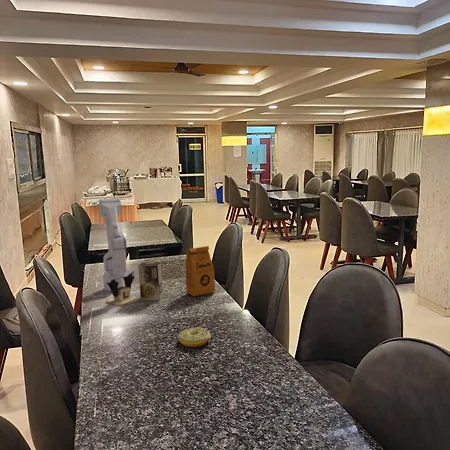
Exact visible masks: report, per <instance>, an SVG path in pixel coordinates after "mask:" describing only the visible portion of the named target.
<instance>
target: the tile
mask: <svg viewBox="0 0 450 450" xmlns="http://www.w3.org/2000/svg"><path fill="white" fill-rule="evenodd" d="M135 302H139V298H138V297H135V296H131V295H130V299H128V300H125V301H123V302H120V301H116V300H114V296H112V297H111V298H107V299H106V300H105V303H107V304H110V305H115V306H117V307H118V306H120V307H123V308H124V307H126V306H128V305H131V304H133V303H135Z"/></svg>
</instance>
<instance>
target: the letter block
mask: <svg viewBox="0 0 450 450" xmlns="http://www.w3.org/2000/svg"><path fill="white" fill-rule="evenodd" d="M124 286H125V285H124ZM124 286H120V287H118V296H117V297H114V296H113V297H114V300H116V301H120V302H123V301H125V300H128V299H130V296H131V289H130V288H129V287H124Z"/></svg>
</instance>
